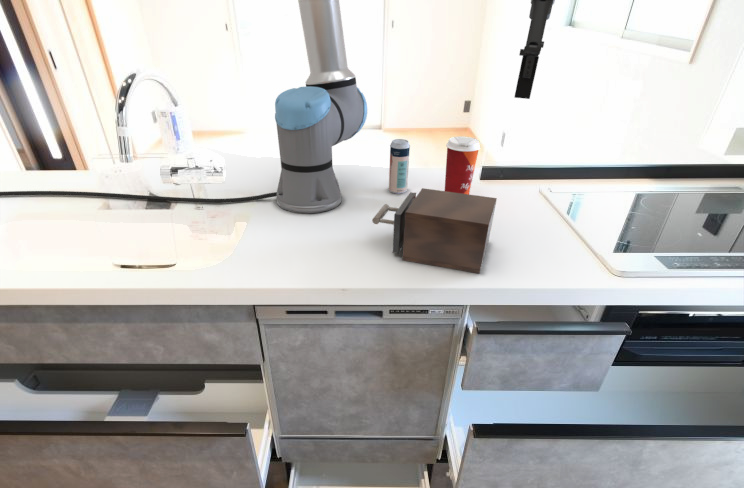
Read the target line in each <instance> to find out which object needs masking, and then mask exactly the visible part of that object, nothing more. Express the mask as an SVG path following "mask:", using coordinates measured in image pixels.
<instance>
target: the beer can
mask: <svg viewBox="0 0 744 488" xmlns="http://www.w3.org/2000/svg"><path fill="white" fill-rule="evenodd" d="M389 146H390V148H389V172H388V189H387V190H388V191H390V193H392V194H396V195H400V194H404V193H406V192H407V191H408V178H409V166H410V165H409V163H410V161H409V160H410V148H411V144H410V143H409V140H408V139H403V138H395V139H392V140H391V143H390V145H389Z"/></svg>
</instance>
